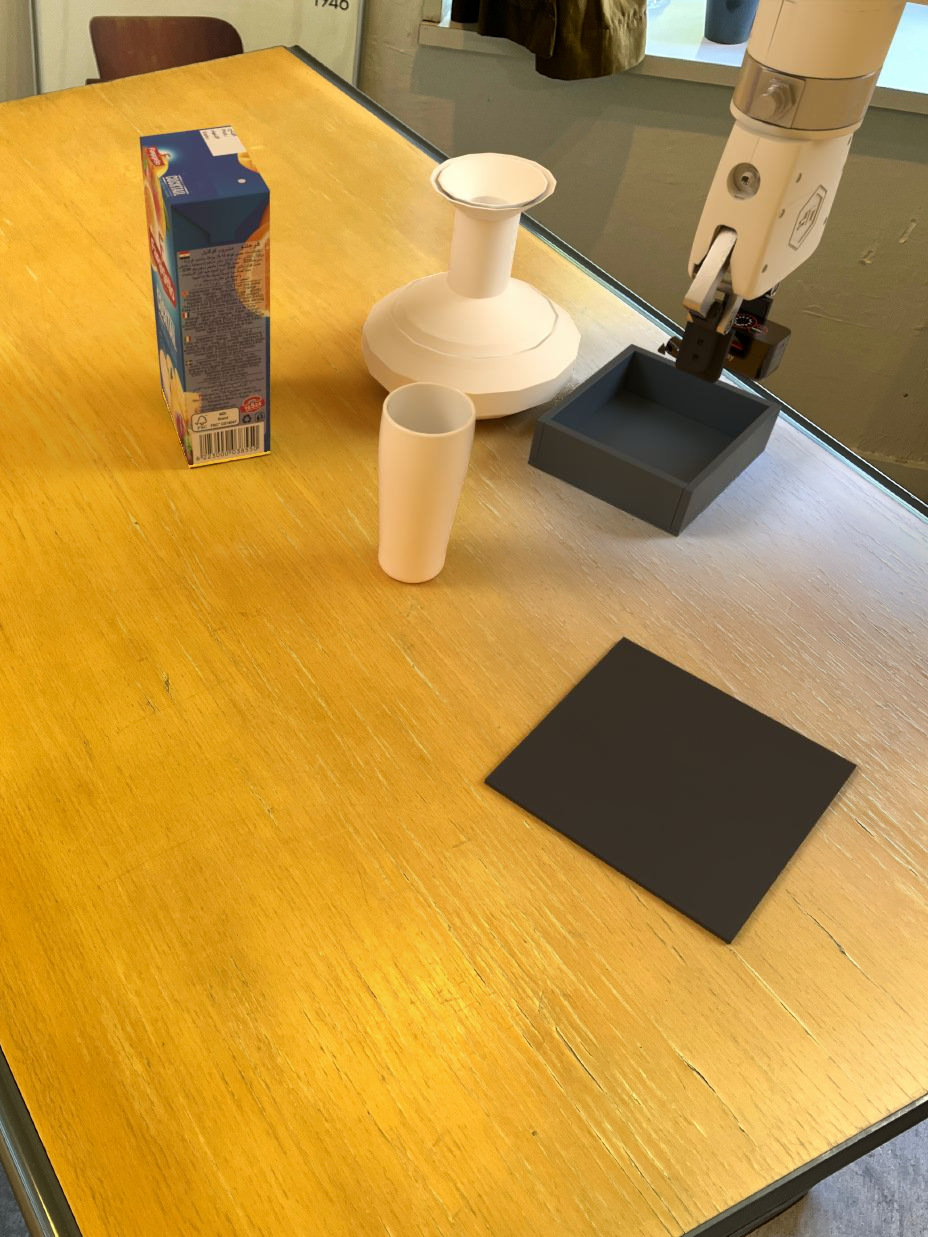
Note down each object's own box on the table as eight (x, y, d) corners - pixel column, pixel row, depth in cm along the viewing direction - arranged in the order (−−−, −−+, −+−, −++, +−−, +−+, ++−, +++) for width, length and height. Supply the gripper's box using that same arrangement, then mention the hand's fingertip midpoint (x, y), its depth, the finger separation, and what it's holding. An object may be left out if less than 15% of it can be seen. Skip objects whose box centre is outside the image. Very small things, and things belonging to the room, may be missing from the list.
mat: (855, 768, 77) (857, 764, 77) (729, 945, 68) (731, 942, 68) (622, 639, 85) (623, 636, 85) (483, 782, 76) (484, 779, 76)
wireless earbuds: (690, 332, 83) (702, 292, 80) (779, 371, 79) (795, 330, 77) (654, 357, 81) (665, 316, 78) (744, 399, 77) (759, 357, 75)
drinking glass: (358, 582, 90) (371, 426, 78) (380, 529, 94) (394, 373, 83) (442, 601, 88) (467, 444, 77) (460, 545, 92) (486, 389, 81)
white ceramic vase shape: (614, 385, 107) (667, 185, 93) (469, 472, 99) (502, 266, 84) (460, 301, 117) (486, 109, 103) (316, 373, 109) (323, 175, 95)
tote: (764, 450, 100) (782, 405, 97) (677, 537, 93) (692, 492, 89) (619, 387, 107) (631, 343, 103) (527, 463, 99) (536, 419, 96)
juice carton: (270, 455, 101) (270, 190, 83) (189, 469, 99) (171, 204, 81) (237, 381, 108) (230, 124, 90) (161, 393, 107) (139, 136, 89)
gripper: (796, 154, 61) (702, 433, 74) (926, 62, 69) (819, 330, 82) (672, 116, 64) (604, 389, 78) (808, 32, 72) (725, 294, 86)
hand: (715, 356), depth 80 cm, fingers closed on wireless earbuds, 4 cm apart
